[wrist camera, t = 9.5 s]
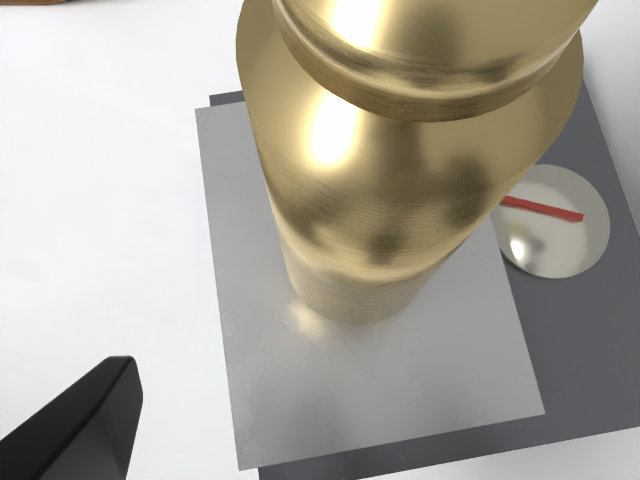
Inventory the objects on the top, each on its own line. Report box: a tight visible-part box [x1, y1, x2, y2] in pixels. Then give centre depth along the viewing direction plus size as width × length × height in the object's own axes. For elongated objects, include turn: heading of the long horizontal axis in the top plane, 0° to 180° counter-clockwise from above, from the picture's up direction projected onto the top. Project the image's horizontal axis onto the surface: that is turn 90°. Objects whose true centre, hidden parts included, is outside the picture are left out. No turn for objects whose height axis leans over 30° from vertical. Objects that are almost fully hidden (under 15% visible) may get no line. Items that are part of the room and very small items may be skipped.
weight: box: [236, 0, 599, 324], centre depth 12 cm, size 5×5×14 cm
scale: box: [195, 78, 640, 480], centre depth 21 cm, size 15×16×3 cm
